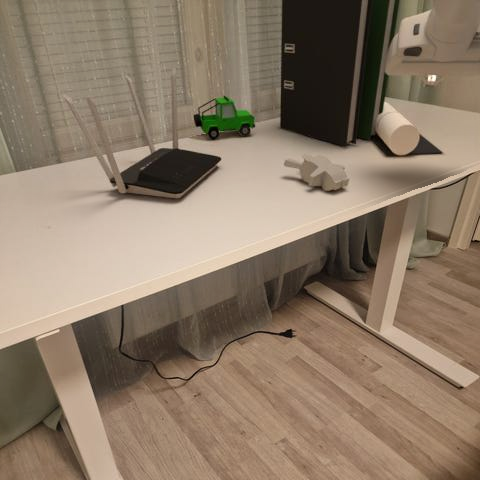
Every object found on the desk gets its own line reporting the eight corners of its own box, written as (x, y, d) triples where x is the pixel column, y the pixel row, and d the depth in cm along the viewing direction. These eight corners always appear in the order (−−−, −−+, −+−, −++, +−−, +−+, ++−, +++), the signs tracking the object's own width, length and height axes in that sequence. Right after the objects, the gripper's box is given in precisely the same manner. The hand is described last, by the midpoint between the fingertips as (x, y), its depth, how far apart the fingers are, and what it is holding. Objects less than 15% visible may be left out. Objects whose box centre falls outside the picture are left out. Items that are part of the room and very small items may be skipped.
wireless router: (169, 213, 84) (152, 101, 71) (72, 200, 90) (42, 96, 78) (230, 159, 108) (226, 69, 96) (151, 152, 115) (137, 67, 103)
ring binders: (380, 137, 118) (403, -9, 98) (341, 147, 112) (357, -6, 92) (315, 120, 136) (322, -6, 117) (278, 128, 130) (280, -3, 110)
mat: (412, 130, 124) (413, 128, 124) (442, 153, 107) (442, 152, 106) (364, 131, 124) (364, 130, 124) (386, 155, 107) (386, 154, 107)
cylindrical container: (383, 149, 105) (362, 123, 124) (408, 159, 106) (383, 131, 126) (399, 120, 101) (375, 97, 120) (425, 130, 102) (397, 106, 122)
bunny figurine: (327, 178, 85) (280, 151, 93) (323, 202, 88) (278, 174, 97) (360, 168, 89) (312, 143, 98) (355, 190, 92) (309, 165, 101)
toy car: (256, 135, 124) (256, 98, 118) (198, 142, 121) (194, 103, 115) (248, 128, 131) (248, 92, 125) (193, 134, 128) (190, 97, 122)
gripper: (511, 16, 77) (483, 69, 90) (393, 19, 81) (382, 69, 94) (509, 48, 76) (480, 97, 89) (389, 49, 80) (379, 96, 94)
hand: (429, 83), depth 92 cm, fingers closed
